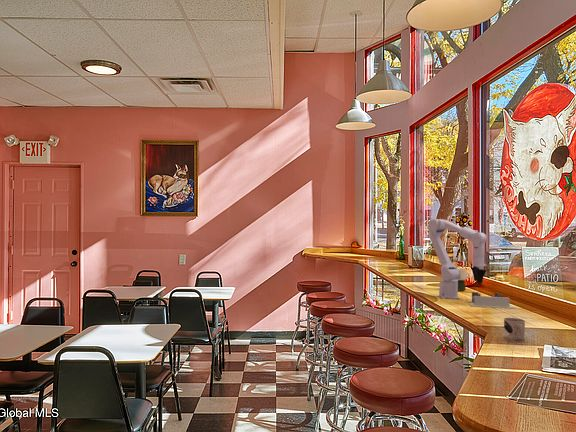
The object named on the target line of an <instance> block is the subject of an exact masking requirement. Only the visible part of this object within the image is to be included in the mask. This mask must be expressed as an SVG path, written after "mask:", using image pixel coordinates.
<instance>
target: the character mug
mask: <svg viewBox="0 0 576 432" xmlns="http://www.w3.org/2000/svg"><path fill="white" fill-rule="evenodd" d="M457 269H458V270H459V271H460V274H461V275H460V278H459V279H458V291H466V290H467V289H466V282H465V281H466V280H467V279H469V278H471V273H470V272H469V271H467V270H468V269H466V268H457Z"/></svg>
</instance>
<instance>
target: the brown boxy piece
mask: <svg viewBox="0 0 576 432" xmlns="http://www.w3.org/2000/svg"><path fill="white" fill-rule="evenodd" d="M474 296H482V295H481V294H480V293H479V292H474V291H473V292H471V303H474Z"/></svg>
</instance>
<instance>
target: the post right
mask: <svg viewBox="0 0 576 432" xmlns="http://www.w3.org/2000/svg"><path fill="white" fill-rule="evenodd" d="M504 296H505V295H504V294H502V293H495V292H494V295H493V297H504Z"/></svg>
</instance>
